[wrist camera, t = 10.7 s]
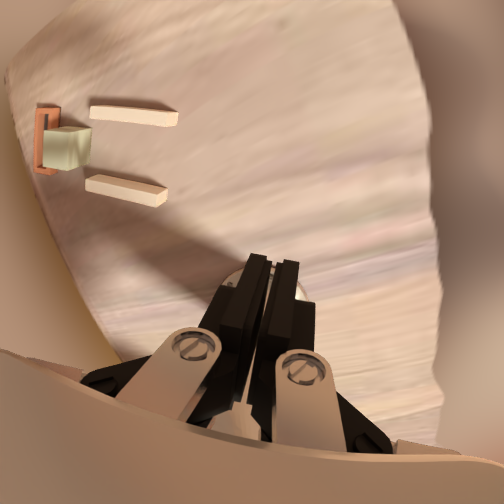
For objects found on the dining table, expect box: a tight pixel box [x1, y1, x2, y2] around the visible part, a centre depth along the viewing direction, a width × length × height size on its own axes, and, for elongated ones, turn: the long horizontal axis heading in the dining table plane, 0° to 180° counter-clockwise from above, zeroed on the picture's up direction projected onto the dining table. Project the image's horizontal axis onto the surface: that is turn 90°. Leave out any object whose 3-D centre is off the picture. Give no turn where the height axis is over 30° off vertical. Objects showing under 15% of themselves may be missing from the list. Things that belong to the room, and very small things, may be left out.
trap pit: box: [34, 107, 61, 175], centre depth 37 cm, size 10×4×2 cm, turn 169°
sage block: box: [43, 126, 92, 171], centre depth 35 cm, size 5×5×5 cm
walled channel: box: [85, 105, 179, 207], centre depth 35 cm, size 11×11×3 cm
